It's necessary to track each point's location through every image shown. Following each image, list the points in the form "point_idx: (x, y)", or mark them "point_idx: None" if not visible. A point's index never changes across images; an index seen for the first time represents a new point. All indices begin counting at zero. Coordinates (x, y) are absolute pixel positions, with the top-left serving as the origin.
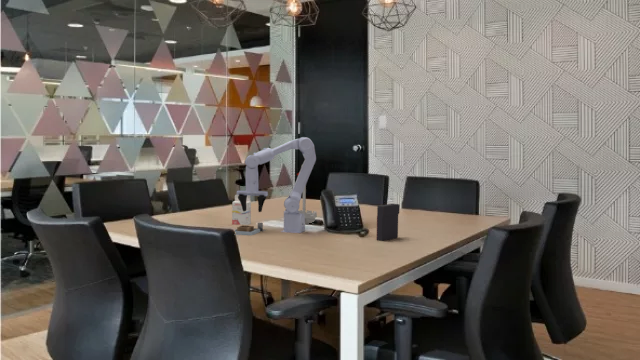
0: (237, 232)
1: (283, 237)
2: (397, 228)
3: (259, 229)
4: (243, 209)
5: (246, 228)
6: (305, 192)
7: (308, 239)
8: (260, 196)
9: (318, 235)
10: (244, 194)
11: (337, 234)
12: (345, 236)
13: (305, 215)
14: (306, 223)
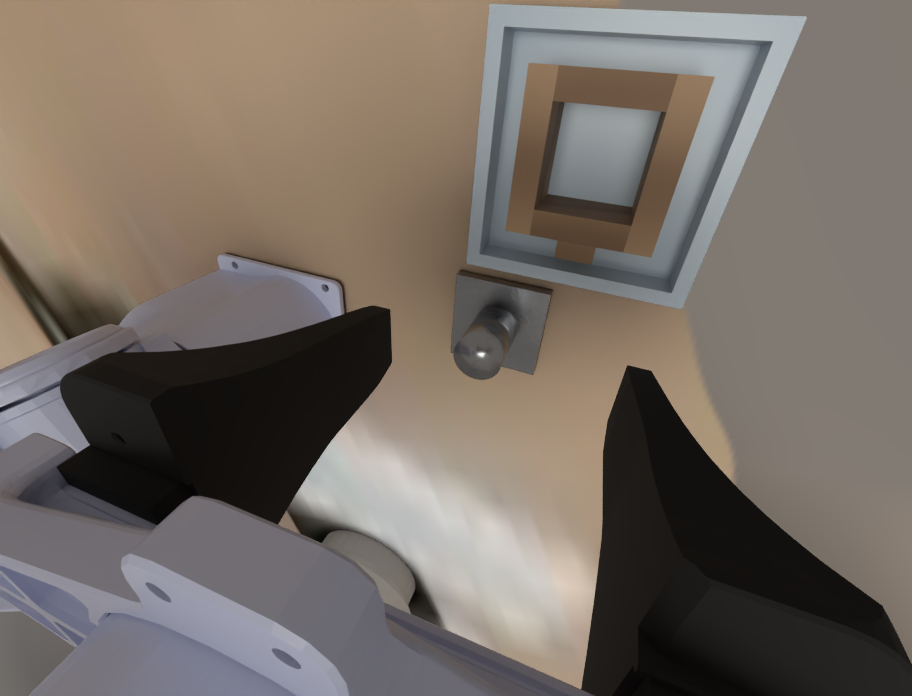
0: (693, 12)
1: (239, 84)
2: None
3: (469, 250)
4: (641, 378)
5: (561, 66)
6: None
7: (75, 53)
8: (147, 462)
9: (128, 229)
10: None
11: (88, 275)
12: (30, 224)
13: None
14: (339, 532)
